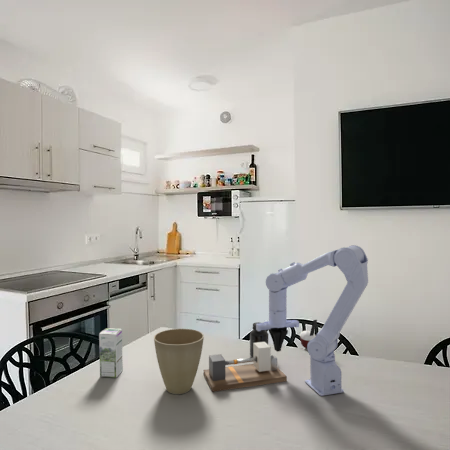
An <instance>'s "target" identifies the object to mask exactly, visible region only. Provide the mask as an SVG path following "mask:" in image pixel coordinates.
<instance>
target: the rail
mask: <svg viewBox="0 0 450 450" xmlns="http://www.w3.org/2000/svg"><path fill="white" fill-rule="evenodd" d="M255 361H257V357H255V358H252V357H248V358H239V359H232V360H225V366H230V365H231V366H232V365H239V364H247V363H253V362H255ZM277 367H278V357H277V356H275V355H271V371H275V370H277Z"/></svg>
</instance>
